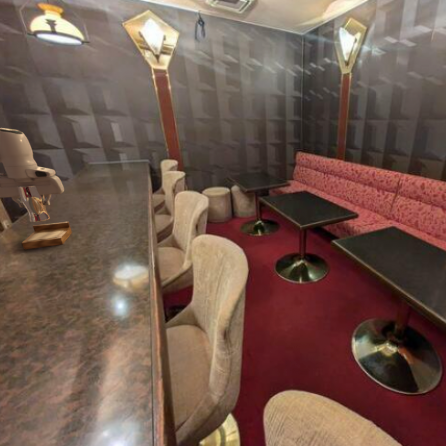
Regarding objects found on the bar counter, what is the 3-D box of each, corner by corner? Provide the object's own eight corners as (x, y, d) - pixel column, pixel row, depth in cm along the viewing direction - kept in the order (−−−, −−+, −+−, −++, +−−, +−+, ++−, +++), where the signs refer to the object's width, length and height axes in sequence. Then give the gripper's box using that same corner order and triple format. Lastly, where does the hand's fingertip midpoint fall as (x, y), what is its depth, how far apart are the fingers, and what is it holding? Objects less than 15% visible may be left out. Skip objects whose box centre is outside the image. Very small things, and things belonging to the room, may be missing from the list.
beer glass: (48, 215, 108) (36, 182, 103) (54, 219, 105) (42, 184, 100) (26, 220, 103) (12, 184, 97) (31, 223, 99) (18, 187, 94)
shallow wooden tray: (24, 249, 100) (19, 237, 98) (37, 236, 112) (33, 225, 110) (63, 244, 106) (59, 232, 104) (72, 232, 117) (68, 221, 115)
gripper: (-21, 175, 89) (-5, 211, 94) (54, 172, 99) (65, 205, 104) (-11, 172, 94) (3, 206, 99) (59, 170, 104) (69, 201, 109)
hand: (35, 205), depth 102 cm, fingers closed on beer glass, 6 cm apart
